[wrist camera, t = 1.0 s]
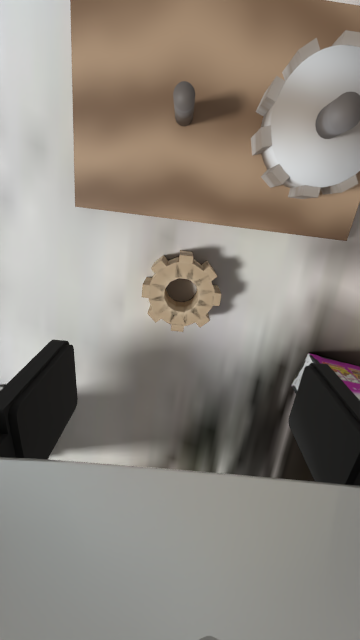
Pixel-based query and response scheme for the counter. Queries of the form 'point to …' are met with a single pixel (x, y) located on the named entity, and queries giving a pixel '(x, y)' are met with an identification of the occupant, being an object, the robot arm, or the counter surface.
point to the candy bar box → (351, 375)
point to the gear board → (219, 111)
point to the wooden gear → (181, 311)
